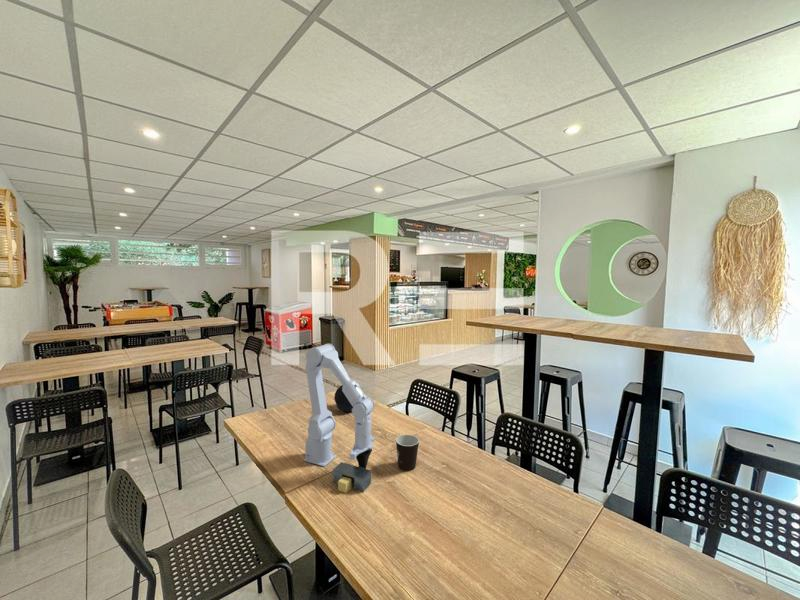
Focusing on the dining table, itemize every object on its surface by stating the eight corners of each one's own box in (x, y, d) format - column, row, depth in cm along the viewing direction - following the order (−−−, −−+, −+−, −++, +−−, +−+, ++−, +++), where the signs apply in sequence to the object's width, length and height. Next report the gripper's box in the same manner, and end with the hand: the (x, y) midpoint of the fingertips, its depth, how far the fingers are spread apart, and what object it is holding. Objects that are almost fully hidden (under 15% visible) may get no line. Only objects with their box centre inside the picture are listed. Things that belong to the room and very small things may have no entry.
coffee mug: (416, 474, 115) (417, 447, 114) (393, 471, 117) (393, 444, 116) (421, 457, 126) (421, 432, 126) (399, 454, 128) (400, 429, 128)
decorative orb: (351, 391, 183) (339, 374, 174) (371, 397, 174) (360, 380, 166) (336, 413, 174) (323, 396, 166) (357, 420, 165) (344, 403, 157)
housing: (332, 482, 110) (332, 469, 110) (341, 474, 114) (341, 462, 114) (363, 492, 105) (363, 478, 105) (371, 483, 110) (371, 470, 109)
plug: (357, 471, 116) (357, 463, 116) (365, 474, 115) (365, 465, 115) (338, 490, 106) (338, 481, 106) (346, 492, 104) (346, 484, 104)
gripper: (362, 444, 107) (362, 483, 108) (382, 426, 121) (381, 461, 121) (344, 439, 110) (344, 477, 111) (365, 422, 123) (365, 456, 124)
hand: (362, 468), depth 116 cm, fingers closed
